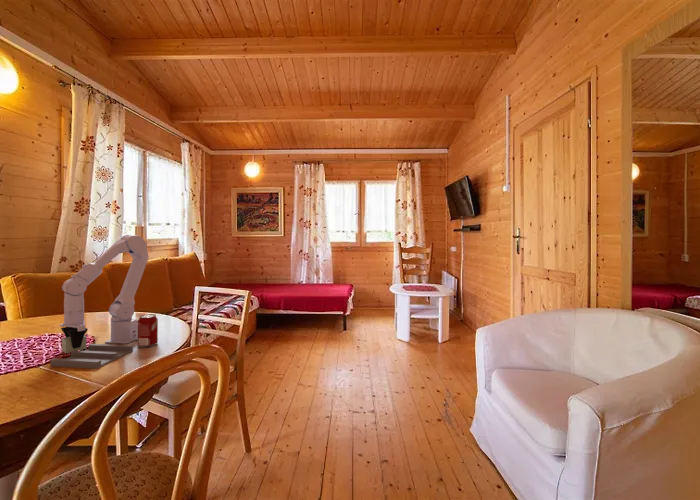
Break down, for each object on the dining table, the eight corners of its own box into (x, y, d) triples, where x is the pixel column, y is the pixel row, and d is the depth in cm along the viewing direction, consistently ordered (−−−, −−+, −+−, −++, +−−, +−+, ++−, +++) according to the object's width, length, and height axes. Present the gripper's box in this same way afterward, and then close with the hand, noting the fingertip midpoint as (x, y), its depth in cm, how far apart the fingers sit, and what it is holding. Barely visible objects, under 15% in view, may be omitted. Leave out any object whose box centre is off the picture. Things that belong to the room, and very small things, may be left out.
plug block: (82, 346, 123) (82, 334, 123) (86, 349, 121) (86, 336, 121) (62, 351, 118) (62, 338, 118) (66, 353, 116) (66, 340, 116)
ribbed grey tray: (132, 351, 120) (132, 345, 120) (97, 368, 104) (97, 362, 104) (91, 349, 121) (91, 343, 121) (50, 366, 105) (50, 359, 105)
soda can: (147, 348, 123) (148, 318, 123) (133, 347, 124) (133, 316, 124) (161, 343, 130) (161, 314, 129) (147, 341, 131) (147, 313, 130)
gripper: (53, 309, 119) (53, 345, 120) (67, 315, 111) (67, 353, 112) (77, 306, 125) (77, 340, 126) (92, 312, 117) (92, 348, 118)
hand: (74, 346), depth 119 cm, fingers closed on plug block, 4 cm apart
